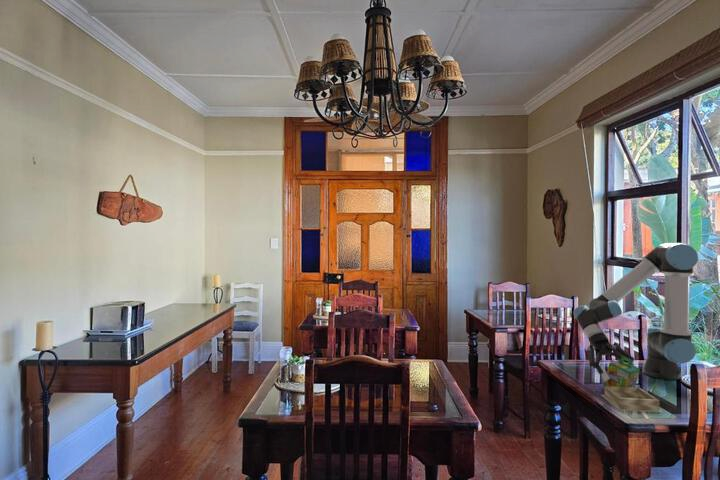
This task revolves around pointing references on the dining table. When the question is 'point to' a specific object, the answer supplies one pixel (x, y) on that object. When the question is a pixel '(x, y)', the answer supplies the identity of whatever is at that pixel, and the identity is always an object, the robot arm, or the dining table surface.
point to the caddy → (631, 398)
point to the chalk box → (622, 373)
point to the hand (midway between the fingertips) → (622, 379)
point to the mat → (628, 409)
